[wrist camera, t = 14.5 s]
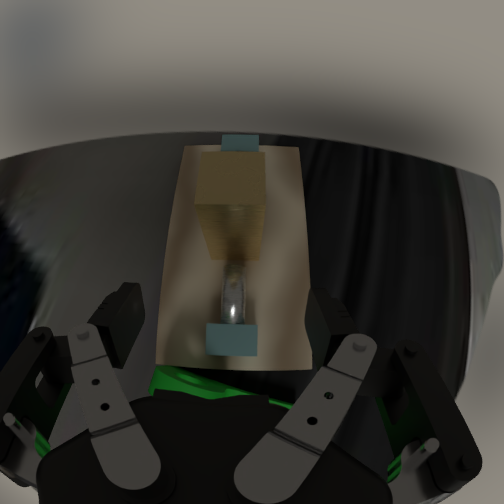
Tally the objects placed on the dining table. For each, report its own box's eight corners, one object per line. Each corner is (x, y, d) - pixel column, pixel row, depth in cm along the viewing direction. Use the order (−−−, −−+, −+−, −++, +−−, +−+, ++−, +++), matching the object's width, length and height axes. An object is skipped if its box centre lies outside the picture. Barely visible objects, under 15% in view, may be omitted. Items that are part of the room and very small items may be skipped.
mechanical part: (156, 418, 22) (123, 437, 14) (174, 365, 24) (145, 366, 17) (275, 457, 21) (286, 491, 13) (294, 403, 23) (315, 421, 15)
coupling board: (160, 363, 24) (144, 363, 20) (186, 153, 33) (180, 128, 29) (308, 368, 24) (320, 370, 20) (296, 155, 33) (302, 130, 29)
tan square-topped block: (211, 259, 26) (193, 204, 17) (214, 218, 28) (201, 151, 19) (258, 260, 26) (265, 205, 17) (259, 218, 28) (265, 151, 19)
